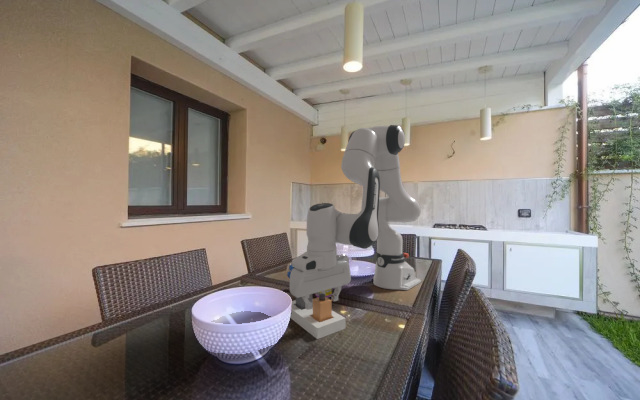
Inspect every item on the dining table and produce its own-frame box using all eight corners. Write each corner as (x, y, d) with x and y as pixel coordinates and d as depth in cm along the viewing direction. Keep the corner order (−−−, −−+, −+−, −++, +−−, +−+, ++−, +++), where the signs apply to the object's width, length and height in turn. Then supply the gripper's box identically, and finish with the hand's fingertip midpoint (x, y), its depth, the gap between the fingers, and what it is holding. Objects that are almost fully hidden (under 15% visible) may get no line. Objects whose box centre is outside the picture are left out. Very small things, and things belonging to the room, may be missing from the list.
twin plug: (306, 310, 88) (306, 282, 88) (312, 314, 85) (312, 285, 85) (295, 313, 86) (295, 284, 86) (302, 317, 83) (301, 288, 83)
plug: (323, 321, 80) (323, 291, 80) (331, 327, 77) (331, 295, 77) (312, 325, 78) (312, 293, 78) (320, 331, 75) (320, 298, 74)
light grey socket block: (308, 307, 93) (308, 296, 92) (345, 331, 76) (345, 318, 76) (283, 315, 87) (283, 303, 87) (317, 342, 70) (317, 328, 70)
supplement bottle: (332, 294, 105) (332, 262, 105) (331, 300, 99) (331, 267, 99) (315, 293, 106) (315, 262, 106) (313, 300, 99) (313, 266, 99)
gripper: (342, 251, 86) (342, 292, 86) (286, 261, 74) (287, 309, 75) (355, 255, 81) (355, 299, 81) (297, 266, 69) (298, 318, 69)
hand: (322, 304), depth 78 cm, fingers open, 8 cm apart
